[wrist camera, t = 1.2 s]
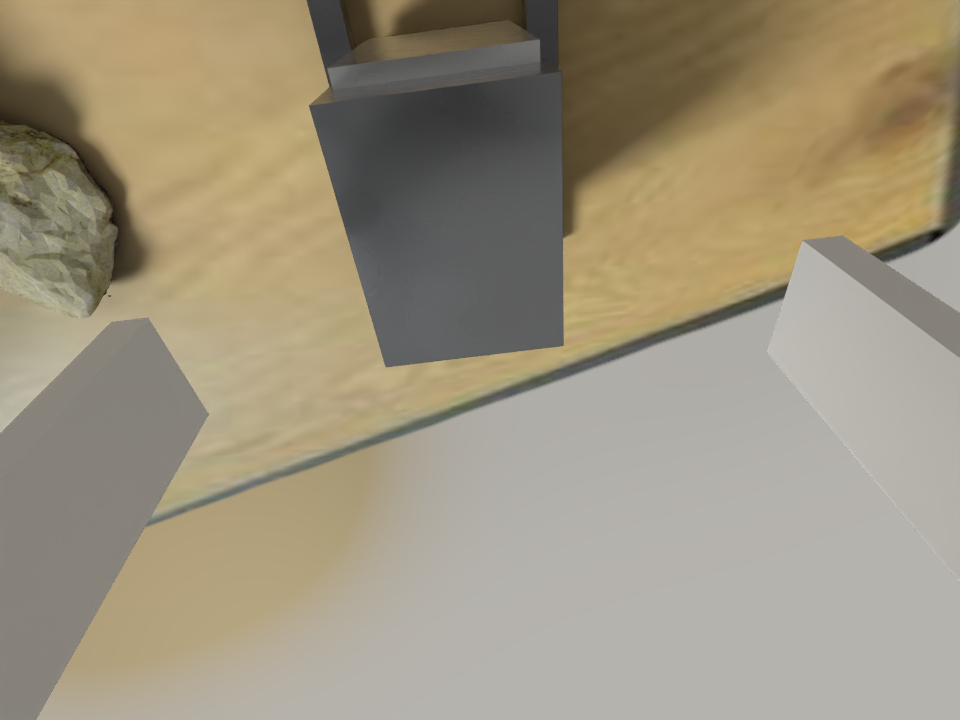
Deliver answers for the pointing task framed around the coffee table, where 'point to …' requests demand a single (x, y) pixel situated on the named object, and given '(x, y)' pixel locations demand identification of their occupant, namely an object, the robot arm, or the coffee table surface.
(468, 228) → the grey stepped block
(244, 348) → the coffee table surface
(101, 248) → the rock
